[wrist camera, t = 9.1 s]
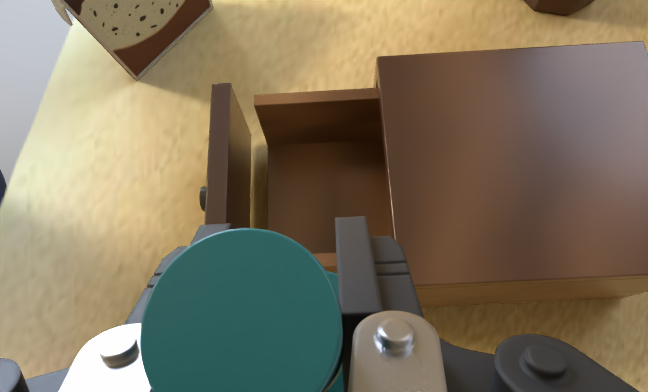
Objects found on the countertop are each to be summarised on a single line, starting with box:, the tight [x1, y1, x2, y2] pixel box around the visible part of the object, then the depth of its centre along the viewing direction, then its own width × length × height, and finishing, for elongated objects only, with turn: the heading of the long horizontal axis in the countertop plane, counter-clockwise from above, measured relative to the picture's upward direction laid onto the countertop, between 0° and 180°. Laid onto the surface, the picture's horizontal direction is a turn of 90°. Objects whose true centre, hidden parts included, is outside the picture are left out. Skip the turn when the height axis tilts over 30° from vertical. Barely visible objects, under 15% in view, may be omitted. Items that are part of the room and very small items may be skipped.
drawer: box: [200, 83, 392, 274], centre depth 30 cm, size 16×13×7 cm
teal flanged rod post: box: [140, 228, 344, 392], centre depth 11 cm, size 5×5×12 cm
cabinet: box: [374, 41, 648, 307], centre depth 30 cm, size 16×14×9 cm
